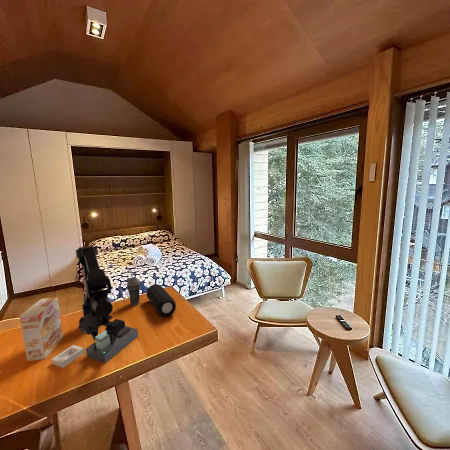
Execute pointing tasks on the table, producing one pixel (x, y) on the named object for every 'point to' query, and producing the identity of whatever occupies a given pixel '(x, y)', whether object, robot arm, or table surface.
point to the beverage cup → (134, 290)
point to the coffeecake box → (41, 328)
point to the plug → (102, 341)
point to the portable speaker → (161, 300)
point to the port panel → (121, 342)
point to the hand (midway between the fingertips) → (104, 342)
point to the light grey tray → (68, 356)
